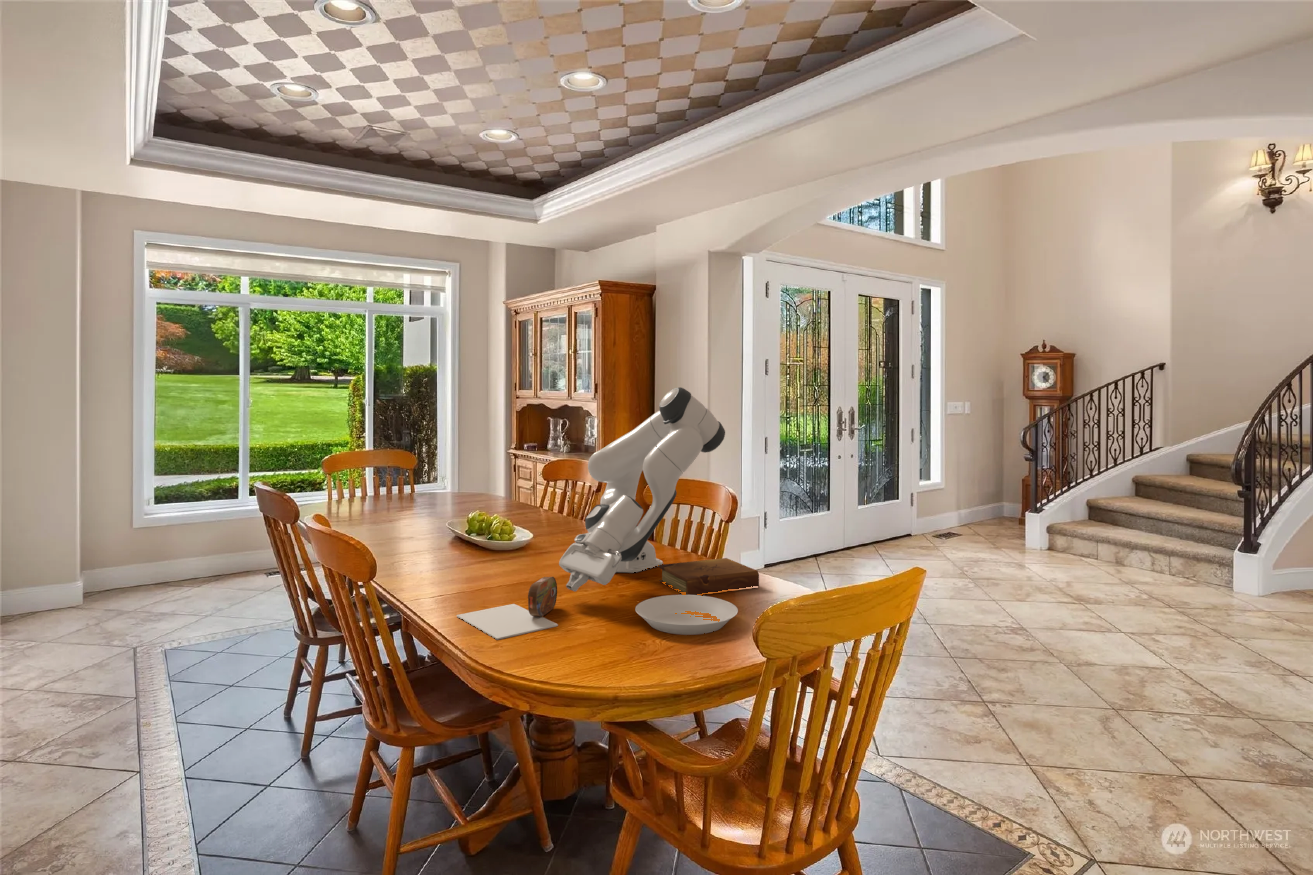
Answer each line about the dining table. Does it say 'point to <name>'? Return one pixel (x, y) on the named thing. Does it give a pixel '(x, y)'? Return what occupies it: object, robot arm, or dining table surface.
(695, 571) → the diary
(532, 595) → the tin
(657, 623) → the bowl
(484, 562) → the dining table surface
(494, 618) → the mat
